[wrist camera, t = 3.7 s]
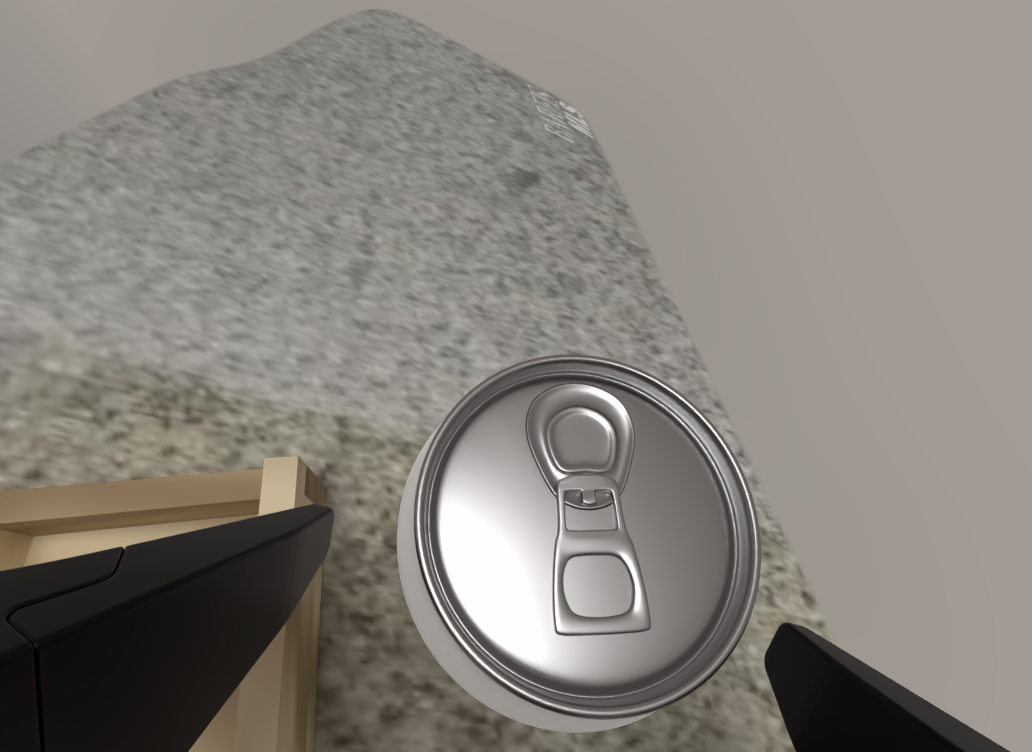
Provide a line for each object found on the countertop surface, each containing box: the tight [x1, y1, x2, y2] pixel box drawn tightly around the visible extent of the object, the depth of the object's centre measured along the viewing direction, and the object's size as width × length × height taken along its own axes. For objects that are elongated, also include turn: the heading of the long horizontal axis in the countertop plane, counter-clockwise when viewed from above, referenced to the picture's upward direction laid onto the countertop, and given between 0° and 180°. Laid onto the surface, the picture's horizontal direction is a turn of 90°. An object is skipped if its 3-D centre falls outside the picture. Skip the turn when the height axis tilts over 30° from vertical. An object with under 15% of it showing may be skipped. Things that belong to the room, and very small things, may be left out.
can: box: [397, 355, 761, 733], centre depth 13 cm, size 6×6×12 cm
